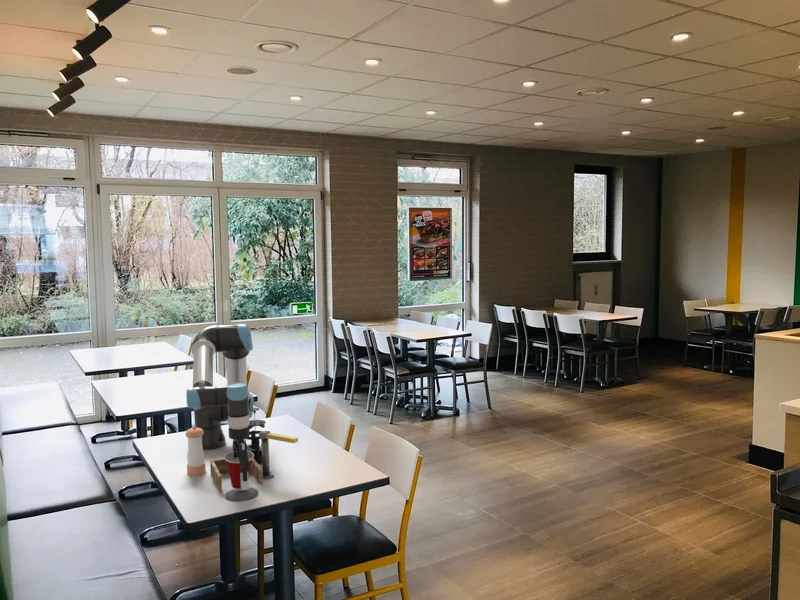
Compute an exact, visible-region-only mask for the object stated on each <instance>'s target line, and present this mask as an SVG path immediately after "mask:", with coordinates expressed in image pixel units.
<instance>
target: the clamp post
mask: <svg viewBox="0 0 800 600" xmlns="http://www.w3.org/2000/svg"><path fill="white" fill-rule="evenodd" d="M260 441H261V443H260V444H261V446H262V464H261V467H262V468H261V469H262V480H268V479H273V478H275V474H274V473H273V472H272V471H270V447H269V446H270V443H269V441H270V440H269V439H260Z"/></svg>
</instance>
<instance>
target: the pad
mask: <svg viewBox="0 0 800 600" xmlns="http://www.w3.org/2000/svg"><path fill="white" fill-rule="evenodd" d="M258 496H259V490H258V489H256V488H254V487H249V489H245V490H241V488H240V489H237V488H233V489H230V490H228V491H227V492H225V495H224V498H225V499H226V500H227V501H231V502H245V501H246V502H247V501H250V500H252V499H256V497H258Z"/></svg>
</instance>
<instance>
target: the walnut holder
mask: <svg viewBox="0 0 800 600" xmlns="http://www.w3.org/2000/svg"><path fill="white" fill-rule="evenodd" d="M209 464H210V476H211V479H212V480H213V483H214V485H215V487H216V489H217V491H218V492H219V493H222V492H223V483H222V482H223V480H222V475H225V474H226V475H227V474H229V471H228V466H227V463H226V460H225V458H224V457H223V458H217V459H212V460H210V461H209ZM261 467H262V466H260V464H258V463H257V462H256V461H255V459H254V458H253V459H252V463H251V468H250V473H251V475H252V477H254V479H255V481H256V482H257V484H258V485H259V486H262V485H263V479H262V473H263V472H262V468H261Z"/></svg>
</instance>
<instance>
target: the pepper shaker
mask: <svg viewBox="0 0 800 600" xmlns="http://www.w3.org/2000/svg"><path fill="white" fill-rule="evenodd" d="M203 434H204V432H203V430H202V429H201V428H197V427H195V425H194V426H192V427H191V428H188V429H187V430H186V432H185V437H186V438H187V447H188V448H187V456H186V457H187V458H186V460H187V464H186V471H187V473H186V474H187V475H189V476H192V475H196V476H199V475H200V476H201V475H204V474H206V472H207V470H206V466H207V465H206V462H205V454H204V453H205V452H204V450H203V447H202V436H203Z"/></svg>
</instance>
